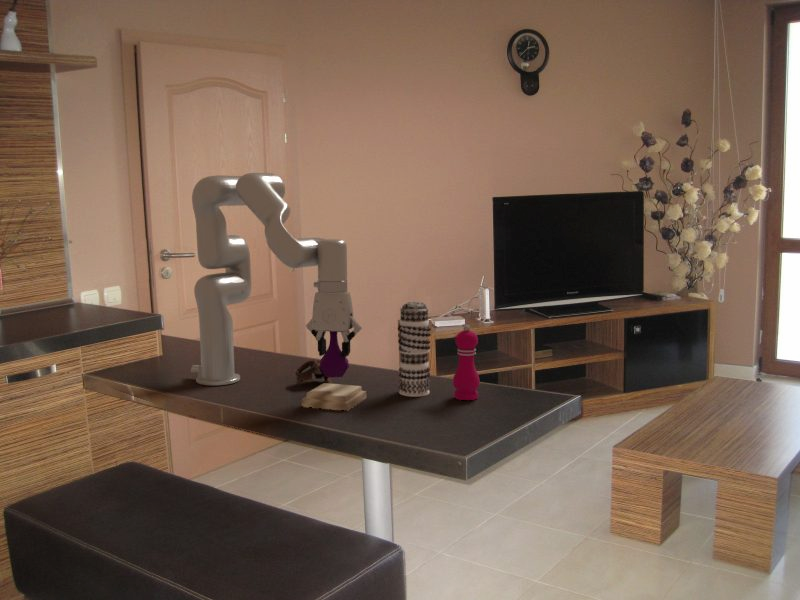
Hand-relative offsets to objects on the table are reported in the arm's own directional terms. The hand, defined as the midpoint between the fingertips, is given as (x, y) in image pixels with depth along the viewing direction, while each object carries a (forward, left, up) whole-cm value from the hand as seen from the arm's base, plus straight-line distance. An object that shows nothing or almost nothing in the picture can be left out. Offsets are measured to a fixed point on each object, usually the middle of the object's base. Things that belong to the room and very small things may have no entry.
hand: (334, 354), depth 204 cm
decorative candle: (+17, +16, -13) cm, 27 cm away
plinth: (0, 0, -13) cm, 13 cm away
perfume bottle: (0, 0, -6) cm, 6 cm away
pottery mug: (-13, +17, -13) cm, 25 cm away
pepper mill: (+32, +15, -13) cm, 38 cm away
